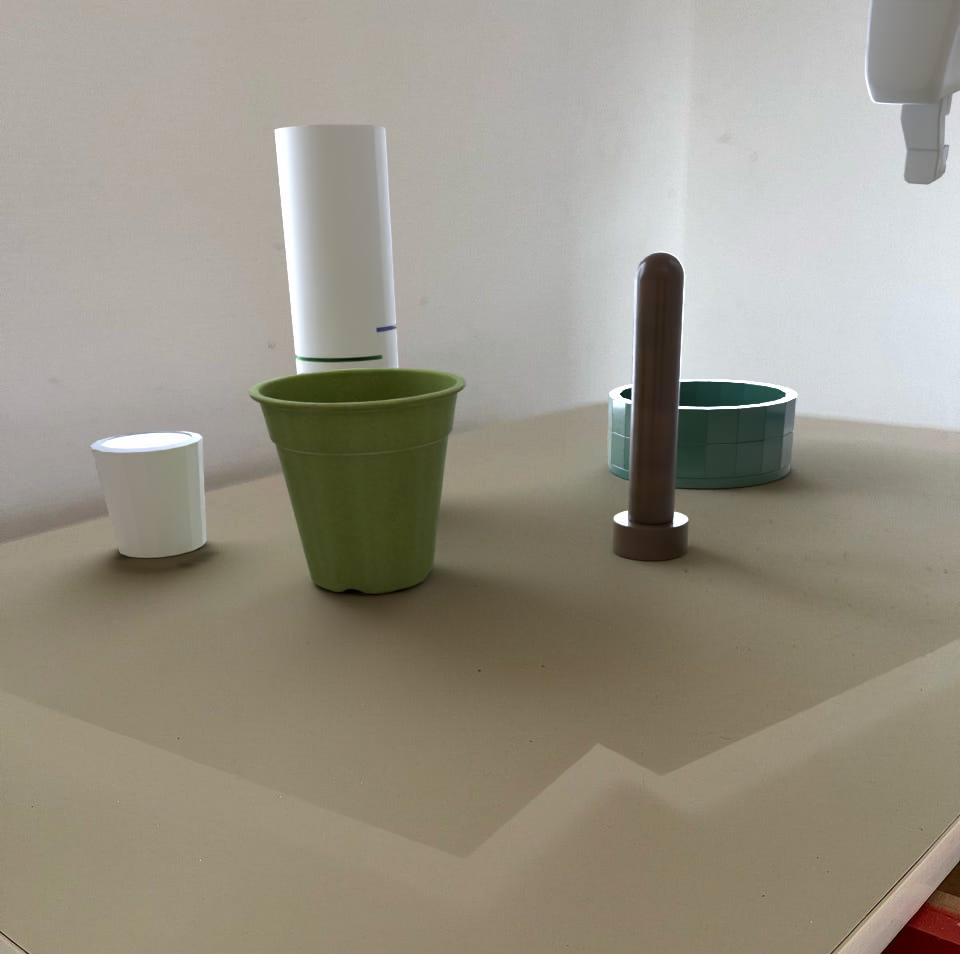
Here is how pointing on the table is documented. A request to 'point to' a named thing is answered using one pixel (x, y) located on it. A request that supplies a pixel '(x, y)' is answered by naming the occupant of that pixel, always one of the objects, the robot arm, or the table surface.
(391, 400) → the plant pot
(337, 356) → the cylindrical container
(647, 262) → the pestle
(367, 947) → the table surface
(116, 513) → the white short cylinder
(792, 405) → the bowl
